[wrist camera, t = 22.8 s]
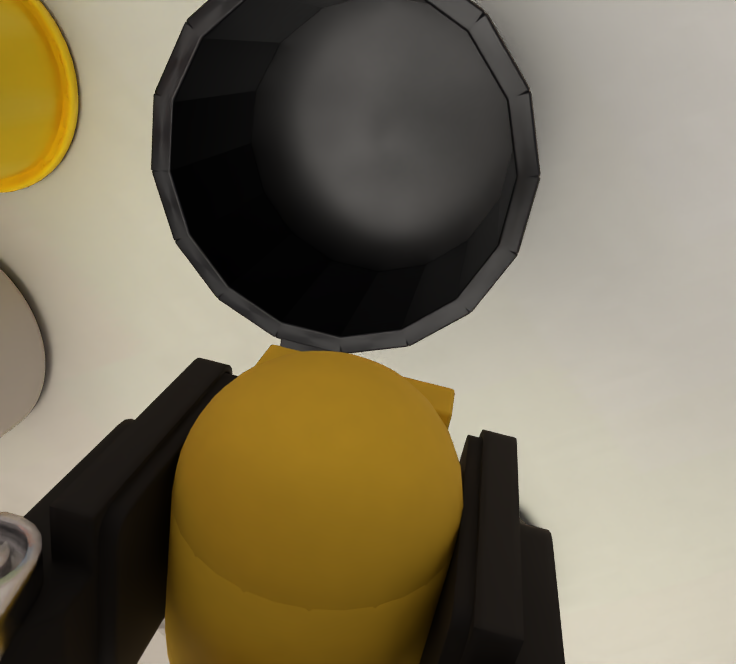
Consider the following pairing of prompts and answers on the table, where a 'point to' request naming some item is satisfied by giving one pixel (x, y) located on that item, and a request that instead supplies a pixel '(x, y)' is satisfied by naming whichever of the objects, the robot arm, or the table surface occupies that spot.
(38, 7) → the stacking cups
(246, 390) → the duck
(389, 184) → the pan
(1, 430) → the cylinder vase
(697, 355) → the table surface
